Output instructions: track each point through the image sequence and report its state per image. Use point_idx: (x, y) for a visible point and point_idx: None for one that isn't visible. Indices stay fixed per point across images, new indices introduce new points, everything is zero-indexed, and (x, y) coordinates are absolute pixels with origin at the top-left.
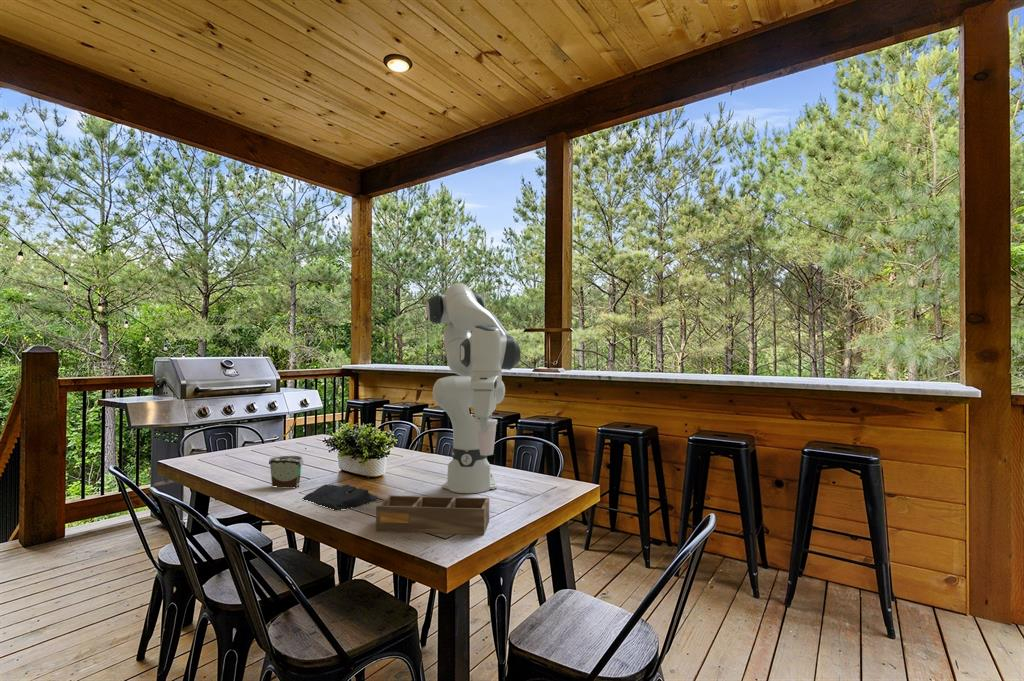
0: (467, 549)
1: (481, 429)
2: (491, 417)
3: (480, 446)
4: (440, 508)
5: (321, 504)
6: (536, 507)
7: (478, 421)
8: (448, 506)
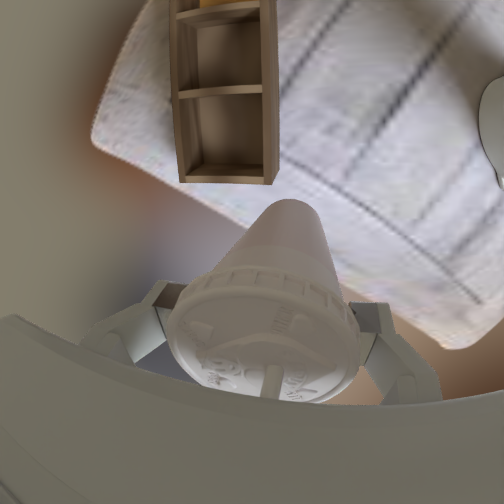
0: (138, 153)
1: (154, 290)
2: (385, 394)
3: (257, 219)
4: (171, 80)
5: None
6: (373, 265)
7: (174, 310)
8: (186, 94)
